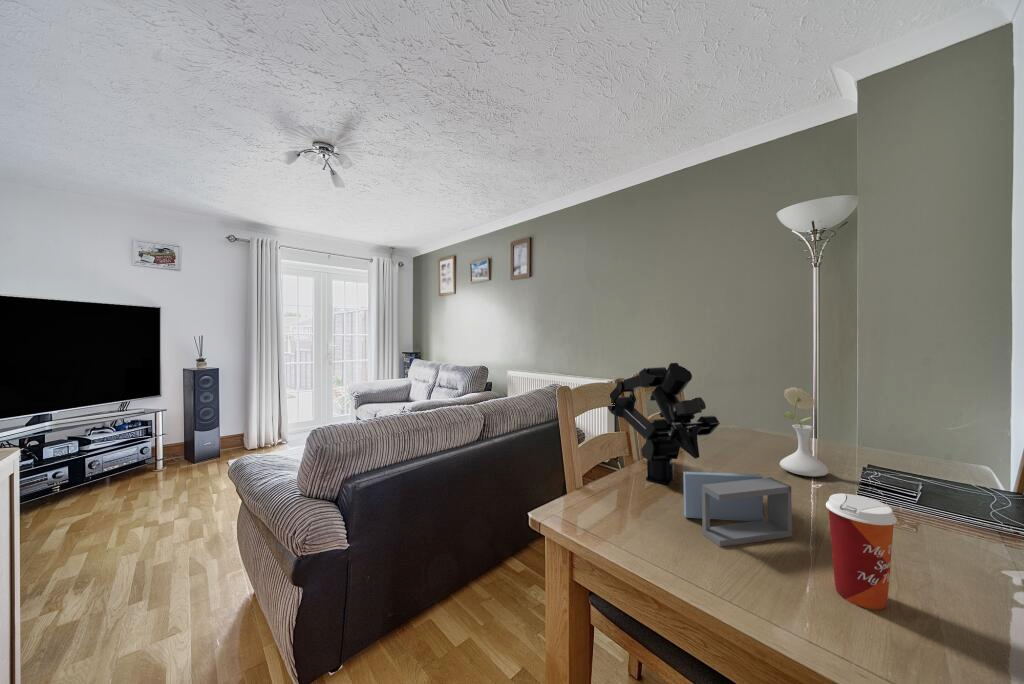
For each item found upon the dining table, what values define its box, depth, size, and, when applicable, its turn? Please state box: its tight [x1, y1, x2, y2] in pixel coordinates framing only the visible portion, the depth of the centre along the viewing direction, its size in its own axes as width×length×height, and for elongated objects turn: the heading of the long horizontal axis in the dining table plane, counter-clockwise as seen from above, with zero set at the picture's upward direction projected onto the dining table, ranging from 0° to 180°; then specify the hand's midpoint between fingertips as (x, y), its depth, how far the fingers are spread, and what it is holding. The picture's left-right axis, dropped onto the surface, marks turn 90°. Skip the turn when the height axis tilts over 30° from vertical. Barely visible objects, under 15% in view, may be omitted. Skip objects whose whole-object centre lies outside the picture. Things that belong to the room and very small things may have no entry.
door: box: [682, 471, 766, 522], centre depth 84 cm, size 3×17×10 cm, turn 80°
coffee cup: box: [825, 493, 898, 611], centre depth 59 cm, size 8×8×15 cm
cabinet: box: [701, 477, 793, 548], centre depth 77 cm, size 5×17×10 cm, turn 100°
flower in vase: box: [779, 386, 830, 478], centre depth 110 cm, size 13×11×25 cm
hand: (697, 457), depth 92 cm, fingers closed
